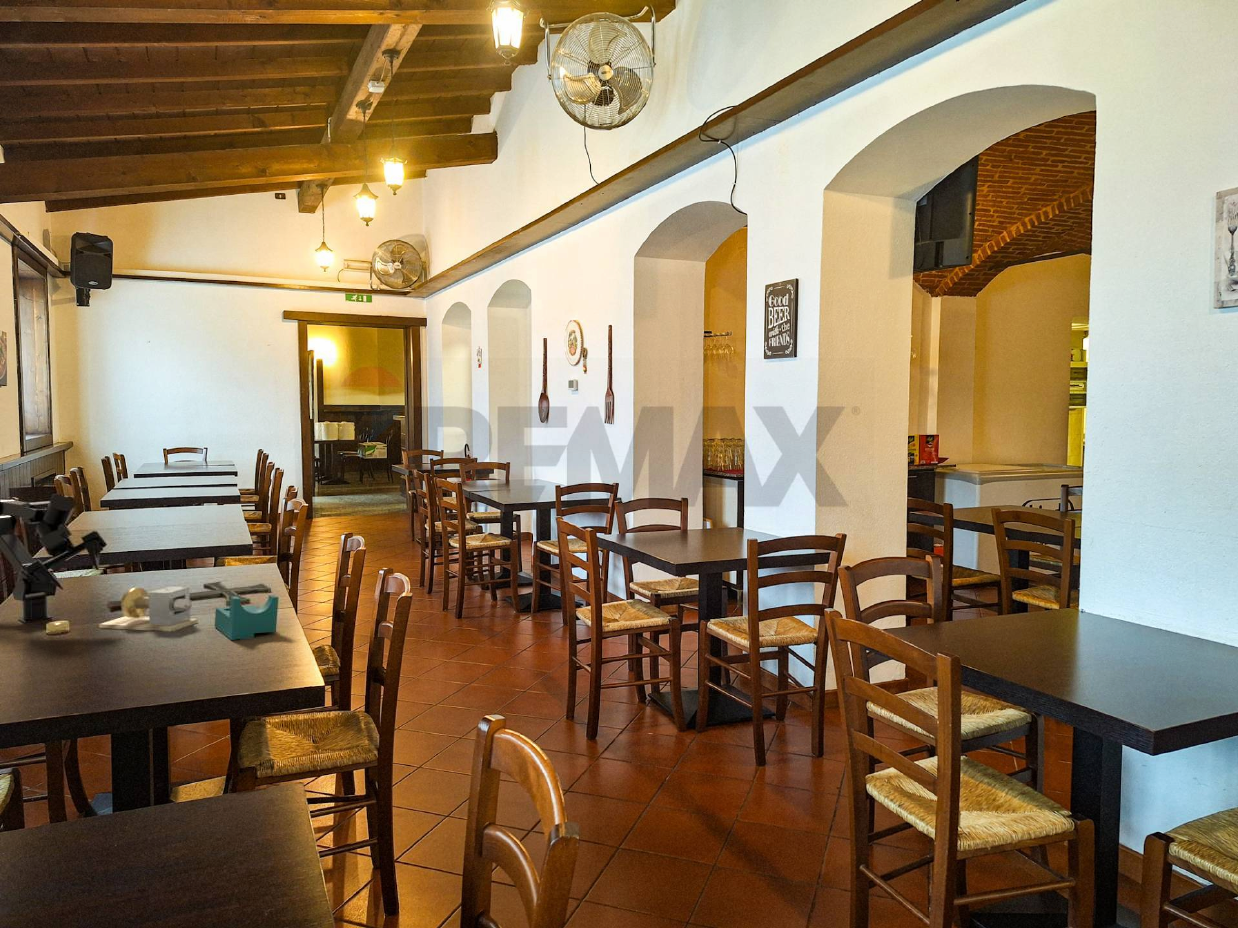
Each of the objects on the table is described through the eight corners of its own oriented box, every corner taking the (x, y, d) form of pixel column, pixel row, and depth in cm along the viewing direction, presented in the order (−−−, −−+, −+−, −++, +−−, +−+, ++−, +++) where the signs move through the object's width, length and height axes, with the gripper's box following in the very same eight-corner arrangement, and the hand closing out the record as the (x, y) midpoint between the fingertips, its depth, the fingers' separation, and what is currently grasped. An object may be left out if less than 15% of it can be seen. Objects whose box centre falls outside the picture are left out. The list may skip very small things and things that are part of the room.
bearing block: (149, 625, 224) (148, 592, 223) (170, 618, 232) (169, 586, 231) (169, 626, 223) (168, 593, 222) (190, 619, 231) (189, 587, 230)
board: (99, 627, 226) (99, 624, 226) (127, 618, 235) (127, 615, 235) (172, 631, 222) (171, 627, 222) (197, 622, 231) (197, 618, 231)
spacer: (43, 632, 221) (43, 623, 221) (65, 628, 225) (64, 619, 225) (50, 635, 218) (50, 626, 218) (72, 631, 222) (71, 622, 222)
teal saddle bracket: (275, 637, 219) (278, 597, 219) (231, 639, 212) (234, 598, 212) (256, 623, 233) (259, 586, 233) (214, 625, 226) (217, 587, 226)
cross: (101, 594, 262) (253, 577, 290) (101, 600, 262) (253, 582, 290) (116, 615, 234) (283, 594, 262) (116, 621, 235) (283, 600, 262)
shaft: (121, 620, 225) (120, 591, 225) (143, 613, 233) (142, 585, 233) (177, 623, 222) (177, 593, 222) (198, 616, 230) (197, 587, 230)
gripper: (3, 542, 217) (28, 586, 212) (77, 504, 225) (103, 546, 220) (24, 561, 226) (48, 603, 221) (94, 524, 234) (119, 564, 229)
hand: (79, 578), depth 223 cm, fingers open, 9 cm apart
